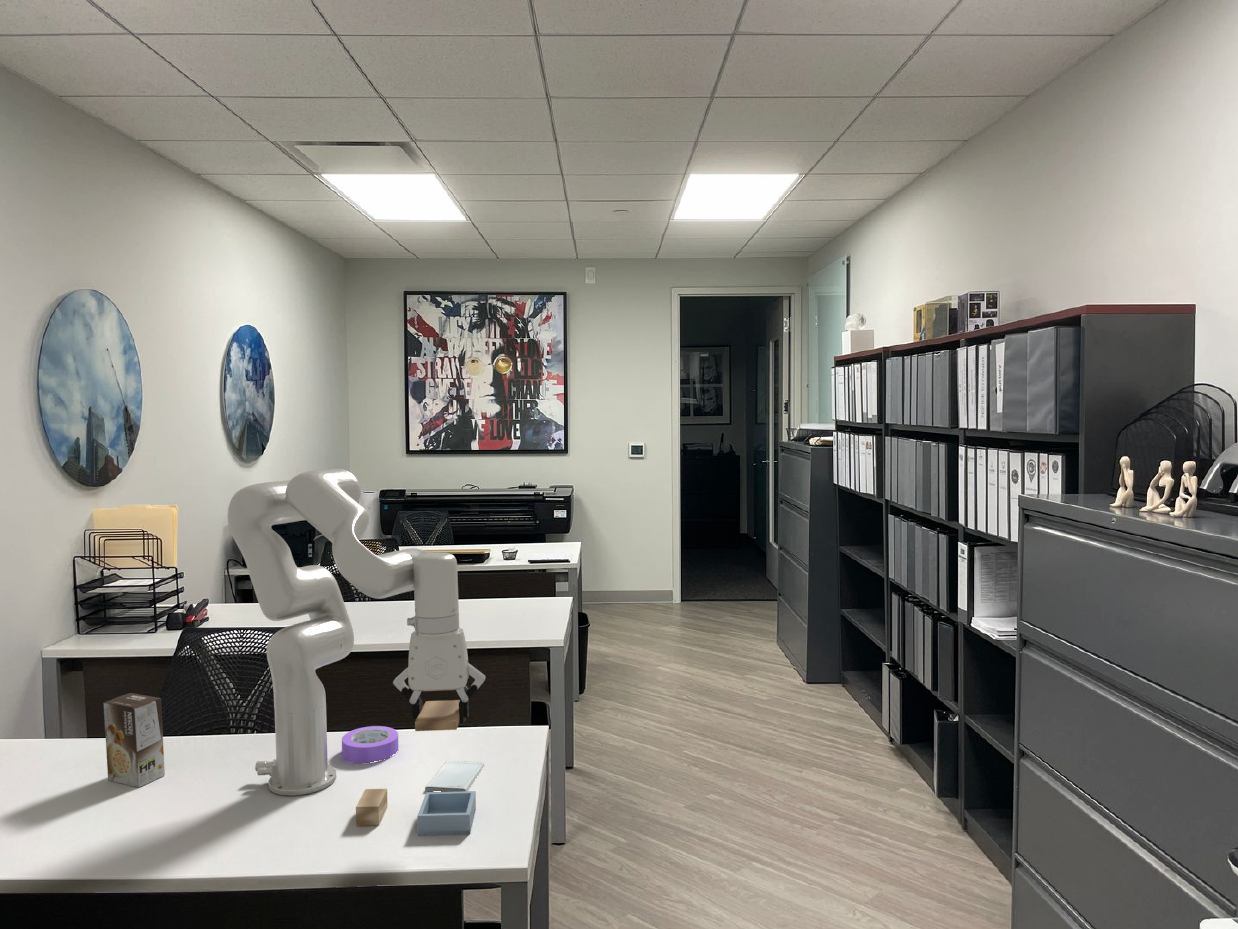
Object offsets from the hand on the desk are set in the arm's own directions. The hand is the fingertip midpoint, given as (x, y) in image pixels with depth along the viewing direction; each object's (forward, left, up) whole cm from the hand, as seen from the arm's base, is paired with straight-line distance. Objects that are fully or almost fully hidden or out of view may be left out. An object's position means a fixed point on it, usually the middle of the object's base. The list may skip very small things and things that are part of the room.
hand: (441, 721), depth 153 cm
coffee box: (-64, +22, -19) cm, 70 cm away
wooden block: (-13, +3, -18) cm, 23 cm away
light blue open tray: (+1, 0, -18) cm, 18 cm away
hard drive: (0, +18, -19) cm, 26 cm away
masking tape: (-20, +32, -19) cm, 42 cm away
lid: (0, 0, 0) cm, 0 cm away
